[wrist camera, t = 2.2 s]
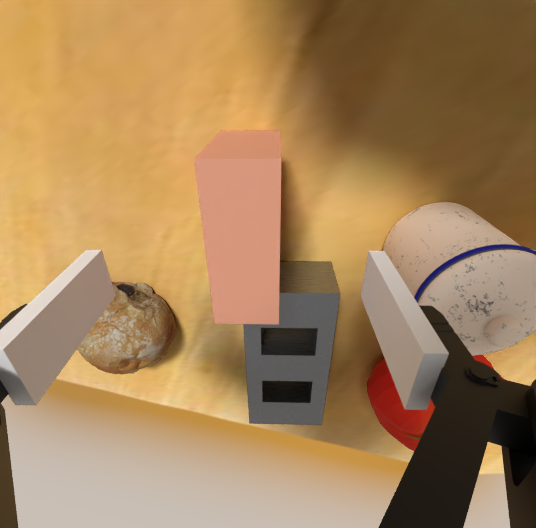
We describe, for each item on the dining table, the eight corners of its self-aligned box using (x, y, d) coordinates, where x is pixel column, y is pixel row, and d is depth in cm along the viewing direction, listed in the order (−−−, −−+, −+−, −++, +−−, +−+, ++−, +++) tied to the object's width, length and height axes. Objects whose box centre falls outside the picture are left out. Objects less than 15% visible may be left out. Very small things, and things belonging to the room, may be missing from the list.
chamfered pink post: (226, 124, 24) (194, 158, 15) (279, 124, 24) (281, 158, 14) (234, 242, 29) (214, 323, 20) (278, 242, 29) (278, 324, 20)
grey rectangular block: (246, 261, 30) (241, 292, 26) (331, 261, 30) (340, 293, 26) (252, 385, 40) (249, 423, 35) (317, 386, 39) (321, 424, 35)
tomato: (357, 403, 41) (375, 478, 33) (358, 331, 35) (381, 403, 27) (469, 396, 40) (514, 472, 32) (493, 320, 33) (555, 393, 26)
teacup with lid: (377, 291, 32) (422, 392, 22) (380, 205, 27) (440, 283, 17) (505, 278, 30) (615, 378, 21) (531, 185, 26) (690, 258, 16)
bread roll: (189, 283, 36) (173, 299, 28) (171, 368, 37) (152, 406, 29) (100, 265, 35) (58, 276, 27) (84, 352, 36) (40, 387, 28)
